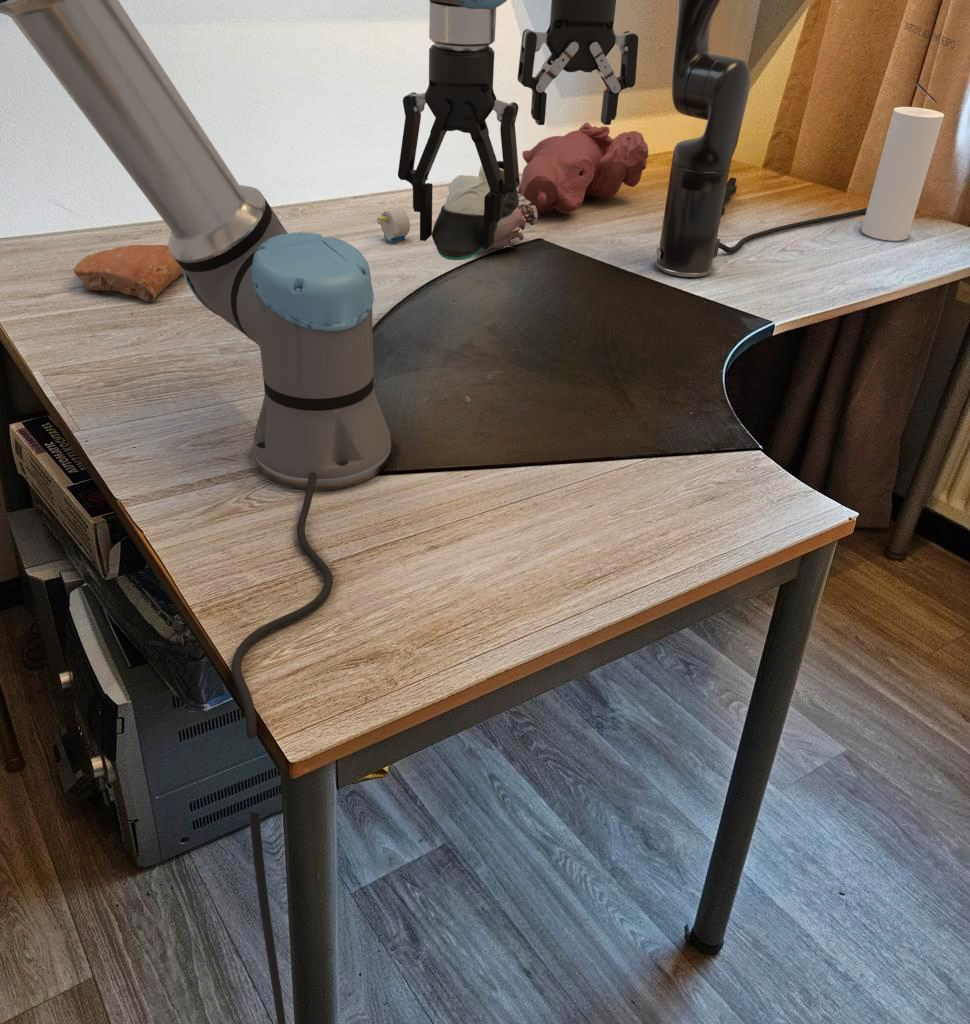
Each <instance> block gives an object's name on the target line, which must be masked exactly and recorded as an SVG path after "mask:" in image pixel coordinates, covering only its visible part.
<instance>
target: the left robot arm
mask: <svg viewBox="0 0 970 1024" xmlns="http://www.w3.org/2000/svg"><path fill="white" fill-rule="evenodd" d="M507 1H508V0H429V10H428V11H429V14H428V17H429V20H428V39H429V40H430V42H432V43H433V44H432V45H431V46H430V47H429V48H428V86H427V89H426V90H425V92H423V93H417V92H415V91H413V92H410V93H408V94H407V95H404V97H402V106H403V113H404V117H405V118H404V124H403V132H402V140H401V147H400V153H399V154H400V155H399V163H398V171H397V177H398V179H399V180H400V181H406V182H408V183H409V184H410V185H411V186H412V209H413V212H415V213H419V241H420V242H421V241H422V242H426V241H427V240H428V239H430V237H432V231H433V188H434V187H433V186H434V185H433V183H431V182H427V181H428V180H429V175H430V172H431V170H432V167H433V165H434V163H435V160H436V157H437V155H438V153H439V150H440V148H441V145H442V143H443V141H444V138H445V135H446V134H447V133H448V132H454V131H459V132H461V133H465V134H469V135H470V138H471V140H472V142H473V143H474V146H475V149H476V152H477V155H478V158H479V161H480V164H481V166H482V167H483V170H484V173H485V176H486V179H487V182H488V185H489V188H490V191H489V192H488V194H487V195H486V196H485V201H484V225H483V249H488V250H489V249H491V248H490V247H491V246H492V244H493V243H494V227H495V222H499V221H500V220H501V218H502V216H503V203H504V194H506V193H513V192H514V191H515V190H516V189H517V190H518V188H519V187H520V184H521V182H520V181H521V180H520V170H519V157H518V144H517V134H516V120H517V117H518V114H519V113H518V112H519V105H518V103H517V102H515V101H513V102H510V103H508V102H506V101H503V100H499V99H497V95H496V94H495V91H494V71H495V70H494V69H495V50H494V49H493V48H492V47H491V46H490V45H492V44H494V42H496V27H497V25H496V24H497V8H499V7H500V6H502V5H503V4H505V3H506V2H507ZM0 14H1V15H5V16H7V17H9V18H10V19H11V20H12V21H13V22H14V24H15V26H17V28H18V29H19V30H20V32H21V33H22V34H23V36H24V37H25V39H26V40H27V41H28V43H29V44H30V45H31V46H32V48H33V49H34V50H35V52H36V53H37V54H38V55H39V57H40V58H41V59H42V61H43V62H44V64H45V65H46V66H47V68H48V69H49V70H50V72H51V74H53V76H54V77H55V78H56V79H57V81H58V82H59V84H60V85H61V86H62V88H63V89H64V90H65V92H66V93H67V94H68V95H69V97H70V98H71V100H72V102H74V104H75V105H76V106H77V107H78V109H79V110H80V112H81V113H82V114H83V115H84V117H85V118H86V119H87V121H88V122H89V124H90V125H91V126H92V127H93V129H94V130H95V131H96V133H97V134H98V135H99V136H100V138H101V140H102V141H103V142H104V143H105V145H106V146H107V147H108V148H109V150H110V151H111V153H112V154H113V155H114V156H115V158H116V160H118V162H119V164H120V165H121V166H122V167H123V168H124V170H125V171H126V173H127V174H128V175H129V176H130V178H131V180H132V181H133V182H134V183H135V184H136V186H137V187H138V189H139V190H140V191H141V193H142V194H143V195H144V196H145V198H146V199H147V201H149V203H150V204H151V206H152V207H153V208H154V210H155V211H156V212H157V214H158V215H159V216H160V218H161V219H162V220H163V222H164V223H165V225H166V226H167V227H168V229H169V230H170V233H169V237H168V243H167V245H168V247H169V251H170V253H171V255H172V256H173V257H174V259H175V260H176V261H177V263H178V264H179V265H180V266H181V268H182V270H183V274H182V275H183V278H184V280H185V282H186V284H187V285H188V287H189V289H190V291H191V292H192V294H193V295H194V297H195V298H196V299H197V300H198V301H199V302H200V303H201V304H202V305H203V306H204V308H206V309H207V310H209V311H210V312H212V314H214V315H216V316H218V317H220V318H222V319H223V320H224V321H226V322H227V323H229V324H230V325H231V326H233V327H234V328H235V329H237V330H238V331H239V332H240V333H242V334H244V335H245V336H246V337H247V338H248V339H250V340H251V341H252V342H253V343H255V344H256V345H258V347H259V350H260V357H261V358H260V359H261V369H262V378H263V388H264V390H263V391H264V396H263V400H262V404H261V408H260V412H259V415H258V419H257V423H256V427H255V430H254V434H253V439H252V441H253V442H252V455H253V460H254V464H255V467H256V468H257V470H258V471H259V472H260V473H261V474H262V475H263V476H265V477H266V478H268V479H269V480H271V481H273V482H275V483H278V484H280V485H283V486H286V487H290V488H295V489H301V490H305V493H304V497H303V502H302V507H301V510H300V513H299V517H298V520H297V524H296V525H297V526H296V535H297V540H298V543H299V545H300V547H301V549H302V551H303V552H304V553H305V555H306V556H307V557H308V559H309V560H311V561H312V562H313V563H314V565H315V566H316V567H317V568H318V569H319V570H320V572H321V573H322V576H323V579H324V580H323V582H324V583H323V587H322V589H321V591H320V592H319V594H318V595H317V596H316V597H315V598H314V599H313V600H311V601H310V602H309V603H307V604H306V605H304V606H301V607H300V608H298V609H296V610H293V611H291V612H289V613H287V614H285V615H283V616H280V617H278V618H276V619H274V620H272V621H269V622H268V623H266V624H264V625H262V626H260V627H259V628H256V629H255V630H254V631H252V632H251V633H249V635H247V636H246V637H245V638H244V639H243V640H242V641H241V643H240V644H239V645H238V647H237V648H236V650H235V652H234V654H233V658H232V661H231V667H230V668H231V670H230V671H231V675H232V680H233V682H234V685H235V687H236V689H237V691H238V693H239V696H240V699H241V702H242V705H243V710H244V717H245V731H246V737H247V738H248V739H251V740H252V739H255V738H256V737H257V735H258V727H257V715H256V709H255V708H256V707H255V704H254V700H253V697H252V694H251V691H250V689H249V686H248V684H247V682H246V680H245V678H244V675H243V671H242V663H243V659H244V658H245V655H246V654H247V652H248V651H249V649H250V648H251V647H252V646H253V645H254V644H255V643H256V642H257V641H258V640H259V639H261V638H263V637H264V636H266V635H267V634H269V633H271V632H273V631H275V630H277V629H278V628H281V627H284V626H286V625H287V624H290V623H292V622H294V621H297V620H299V619H301V618H302V617H304V616H306V615H308V614H310V613H311V612H314V611H315V610H316V609H318V608H320V606H321V605H322V604H323V603H324V602H325V601H326V600H327V599H328V597H329V596H330V594H331V592H332V588H333V584H334V578H333V574H332V571H331V570H330V568H329V567H328V565H327V564H326V562H325V561H324V560H323V559H322V558H321V556H320V555H319V554H317V553H316V551H314V549H313V548H312V546H311V545H310V544H309V541H308V539H307V535H306V523H307V518H308V516H309V512H310V508H311V505H312V500H313V496H314V490H315V491H323V490H327V491H328V490H337V489H342V488H348V487H351V486H355V485H358V484H361V483H363V482H366V481H368V480H370V479H373V478H374V477H375V476H377V475H378V474H380V473H381V472H382V471H383V470H384V469H385V468H386V467H387V466H388V464H389V463H390V461H391V458H392V438H391V432H390V430H389V427H388V424H387V422H386V419H385V417H384V413H383V411H382V408H381V406H380V403H379V400H378V398H377V395H376V393H375V385H374V335H373V334H374V331H373V330H374V329H373V328H374V326H373V323H374V322H373V305H374V300H375V298H374V289H373V284H372V283H373V282H372V278H371V269H370V266H369V263H368V261H367V259H366V257H365V256H364V255H363V253H362V252H361V251H360V250H358V249H357V248H356V247H355V246H354V245H352V244H350V242H349V243H348V242H347V241H345V240H343V239H341V238H337V237H335V236H326V237H325V236H322V234H321V233H315V232H289V233H288V231H287V230H286V228H285V227H284V225H283V224H282V222H281V220H279V219H280V218H279V217H278V216H277V214H276V213H275V212H274V210H273V208H272V207H271V205H270V203H269V202H268V201H267V199H266V197H265V196H264V194H263V193H262V192H261V190H260V189H258V188H256V187H253V186H250V185H244V184H240V183H239V182H238V181H237V179H236V178H235V176H234V175H233V173H232V171H231V170H230V169H229V167H228V166H227V164H226V162H225V161H224V160H223V158H222V156H221V154H220V153H219V152H218V150H217V149H216V147H215V146H214V144H213V142H212V141H211V140H210V138H209V136H208V135H207V133H206V132H205V130H204V129H203V128H202V126H201V124H200V122H199V121H198V120H197V119H196V116H195V115H194V113H193V112H192V110H191V108H189V106H188V104H187V103H186V101H185V100H184V98H183V96H182V95H181V94H180V92H179V90H178V89H177V88H176V86H175V84H174V83H173V81H172V80H171V78H170V77H169V75H168V74H167V72H166V71H165V69H164V67H162V65H161V64H160V62H159V60H158V59H157V57H156V55H155V54H154V53H153V51H152V50H151V48H150V46H149V45H148V43H147V42H146V40H145V39H144V38H143V36H142V34H141V33H140V32H139V29H138V28H137V27H136V25H135V23H134V22H133V20H132V19H131V17H130V15H129V14H128V13H127V11H126V10H125V8H124V6H123V5H122V3H121V2H120V0H0ZM426 105H427V106H428V108H429V110H430V111H431V113H432V114H433V116H434V122H433V124H432V126H431V129H430V131H429V133H430V134H429V136H428V138H427V140H426V141H427V142H426V144H425V146H424V149H423V151H422V154H421V157H420V159H419V161H418V163H417V166H416V168H415V162H416V154H417V149H418V142H419V134H420V126H421V121H422V120H421V119H422V113H423V112H424V110H425V106H426ZM493 111H494V112H495V113H496V120H497V121H498V122H499V123H500V127H499V128H500V129H499V131H500V132H499V133H500V144H501V155H502V161H503V167H504V178H505V181H503V178H502V174H501V171H500V168H499V165H498V162H497V161H498V159H497V156H496V153H495V151H494V147H493V144H492V140H491V138H490V130H489V127H488V125H487V118H488V117H489V116H490V114H491V113H492V112H493ZM248 813H249V814H248V816H249V827H250V838H251V847H252V857H253V867H254V873H255V881H256V882H255V883H256V889H257V897H258V903H259V912H260V918H261V925H262V931H263V939H264V945H265V951H266V958H267V964H268V970H269V978H270V983H271V987H272V988H271V990H272V997H273V1002H274V1009H275V1015H276V1023H277V1024H287V1022H286V1016H285V1015H286V1014H285V1006H284V1000H283V993H282V987H281V979H280V971H279V965H278V958H277V952H276V946H275V939H274V932H273V923H272V917H271V916H272V915H271V909H270V904H269V903H270V902H269V894H268V887H267V880H266V877H267V876H266V869H265V861H264V850H263V840H262V830H261V828H262V827H261V818H260V814H259V813H256V812H254V811H250V810H249V811H248Z"/></svg>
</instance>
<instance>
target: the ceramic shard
mask: <svg viewBox="0 0 970 1024" xmlns="http://www.w3.org/2000/svg"><path fill="white" fill-rule="evenodd" d="M73 273H74V275H75V276H76V277H77V278H79V279H80V280H81V282H82V283H83V285H84V286H85V288H86V289H87V290H88V291H116V292H117V291H118V292H121V293H123V294H125V295H127V296H134V297H137V298H139V299H141V300H143V301H146V302H152V301H154V300H155V299H156V298H157V297H158V295H160V294H161V292H162V291H163V290H164V289H165V288H166V287H167V286H169V284H171V283H172V282H173V281H175V280H176V279H178V277H179V276H181V275H184V274H183V270H182V268H181V266H180V265H179V264H178V263H177V261H176V260H175V259H174V257H173V256H172V255H171V253H170V251H169V247H168V244H167V245H166V244H130V245H125V246H123V245H122V246H117V247H114V248H111V249H104V250H102V251H101V250H100V251H98V252H95V253H91V254H88V255H86V256H85V257H83V259H81V260H80V261H79V262H77V264H76V266H75V267H74V269H73Z"/></svg>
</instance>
